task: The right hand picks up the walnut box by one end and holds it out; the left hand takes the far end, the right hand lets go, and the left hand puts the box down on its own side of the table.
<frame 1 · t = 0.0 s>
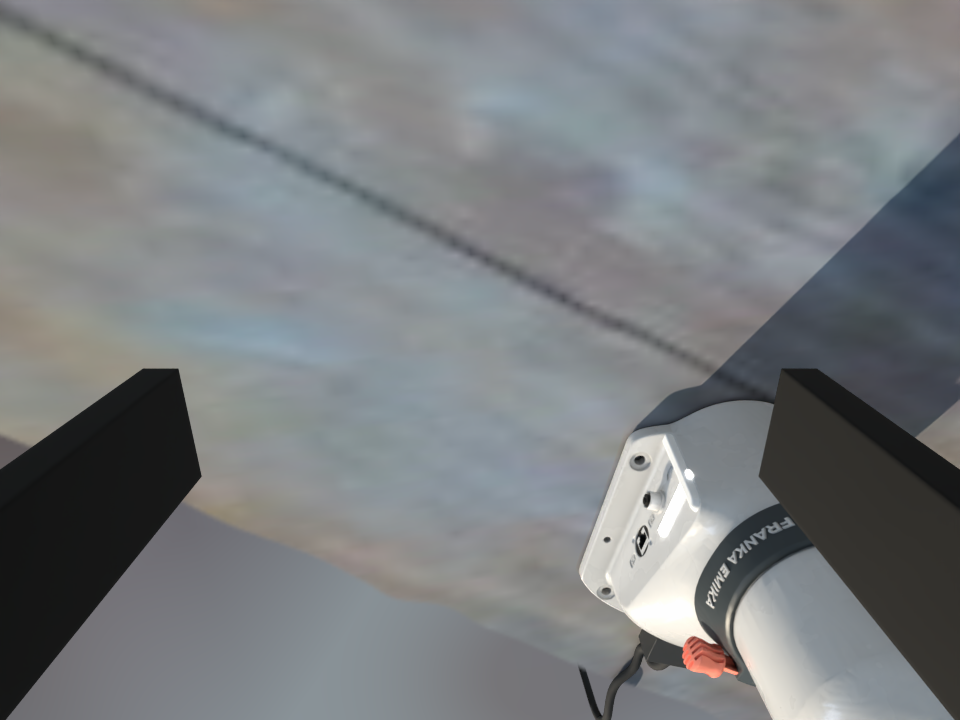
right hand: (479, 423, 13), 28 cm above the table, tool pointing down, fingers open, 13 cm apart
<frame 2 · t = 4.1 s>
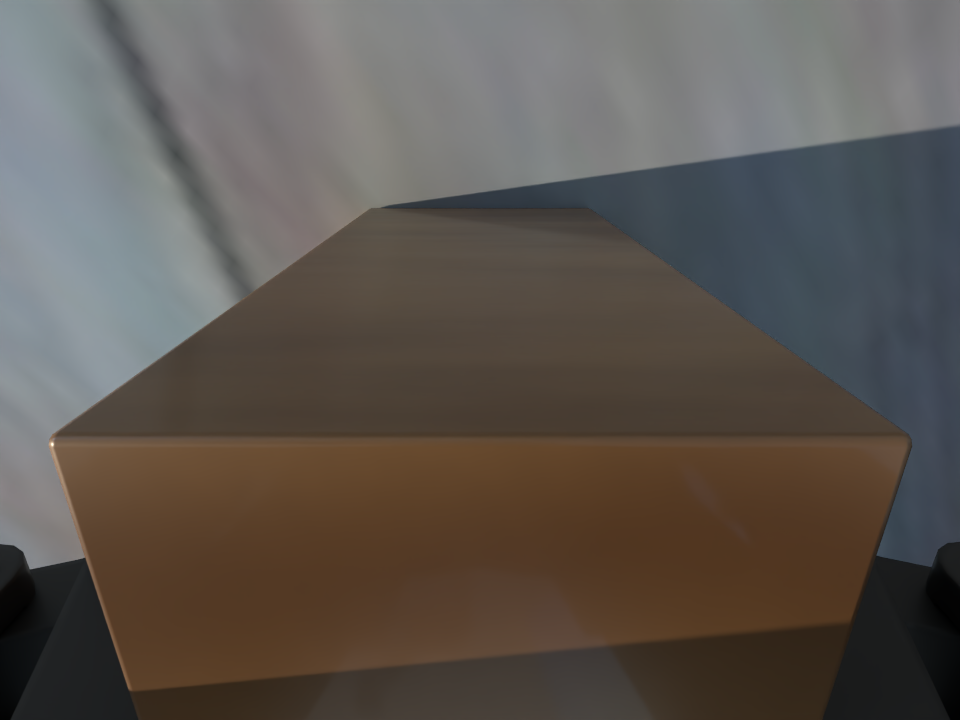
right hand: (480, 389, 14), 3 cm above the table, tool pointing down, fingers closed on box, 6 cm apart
box: (480, 582, 20), on the table, touching right hand
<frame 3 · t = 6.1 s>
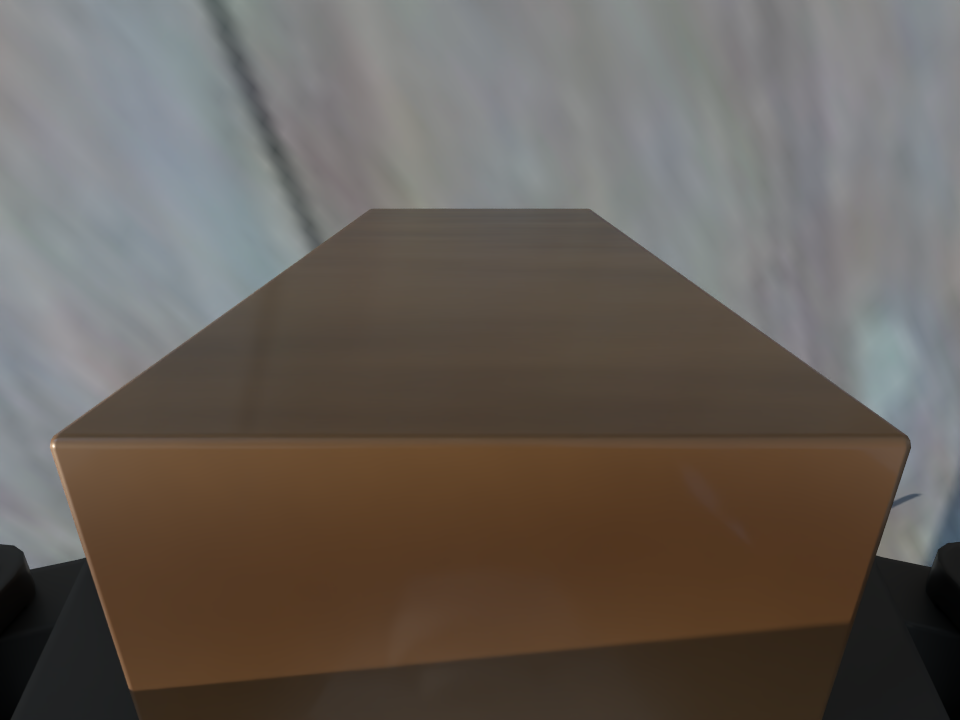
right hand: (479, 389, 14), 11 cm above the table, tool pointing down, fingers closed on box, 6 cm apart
box: (480, 583, 20), point 8 cm above the table, touching right hand
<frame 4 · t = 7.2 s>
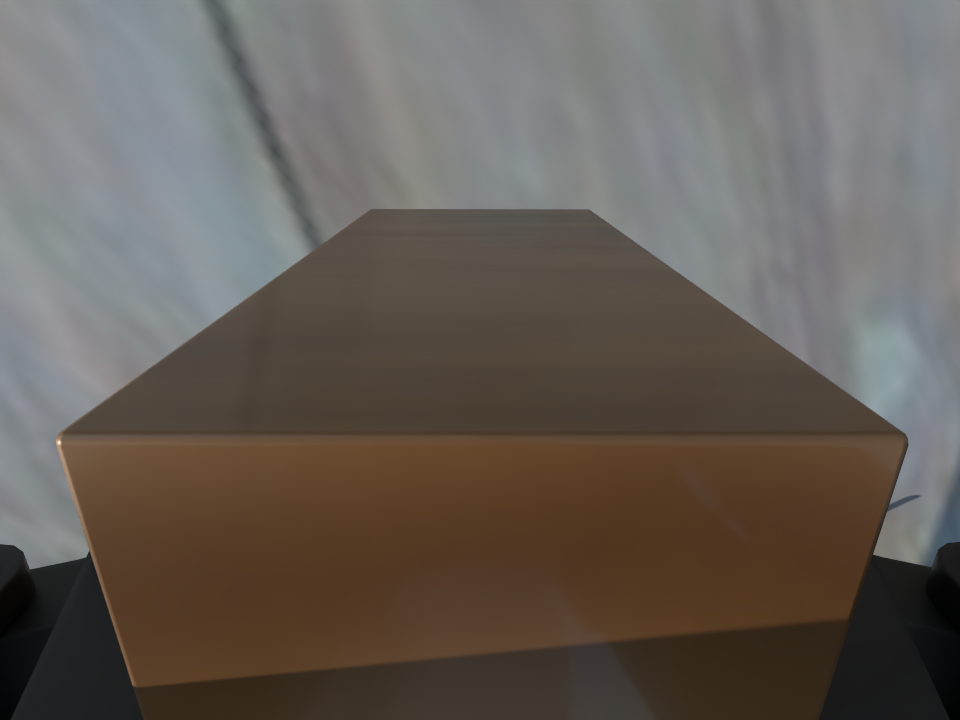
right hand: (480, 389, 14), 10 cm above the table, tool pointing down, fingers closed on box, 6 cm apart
box: (479, 583, 20), point 8 cm above the table, touching right hand, left hand
when the right hand's fingers open (11 cm above the table, at t = 8.3 s): box stays where it is, held by the left hand.
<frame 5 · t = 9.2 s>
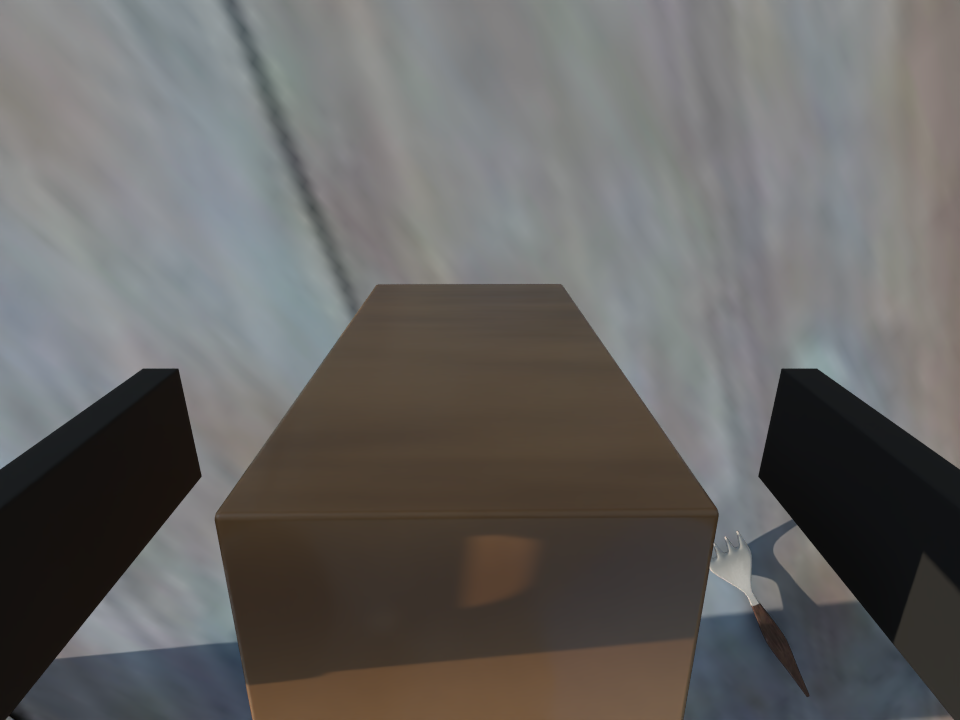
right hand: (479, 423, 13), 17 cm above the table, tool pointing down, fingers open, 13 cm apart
box: (470, 603, 23), point 10 cm above the table, touching left hand
fork: (756, 607, 36), on the table
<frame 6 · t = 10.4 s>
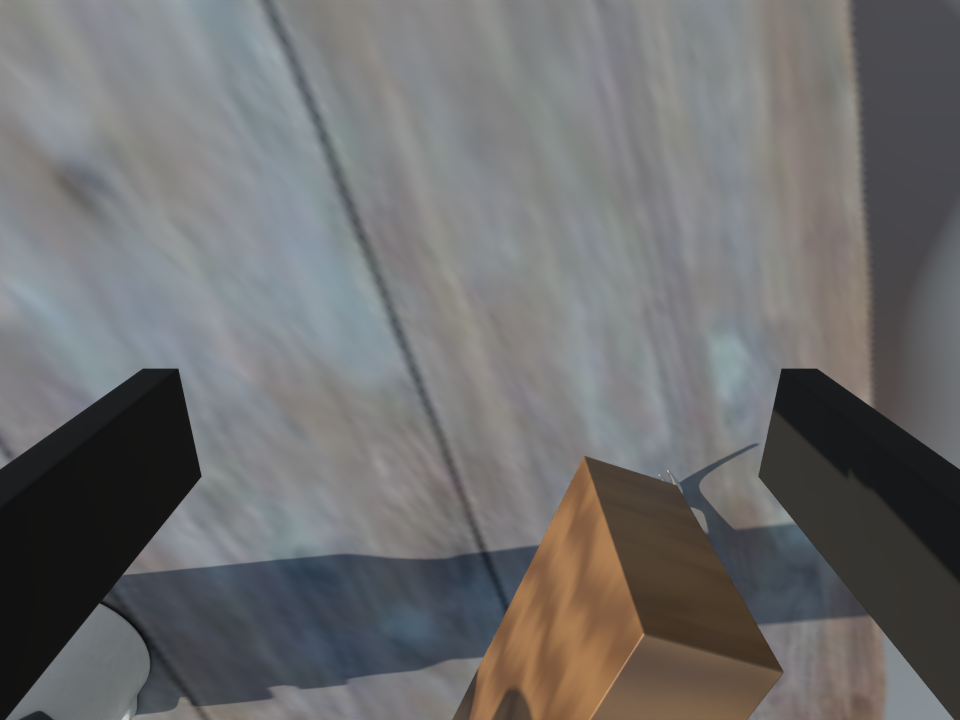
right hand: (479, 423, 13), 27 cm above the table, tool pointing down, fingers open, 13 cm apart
box: (545, 628, 37), point 10 cm above the table, touching left hand
when the left hand's fingers open (8 cm above the table, at t = 13.6 s): box stays where it is, on the table.
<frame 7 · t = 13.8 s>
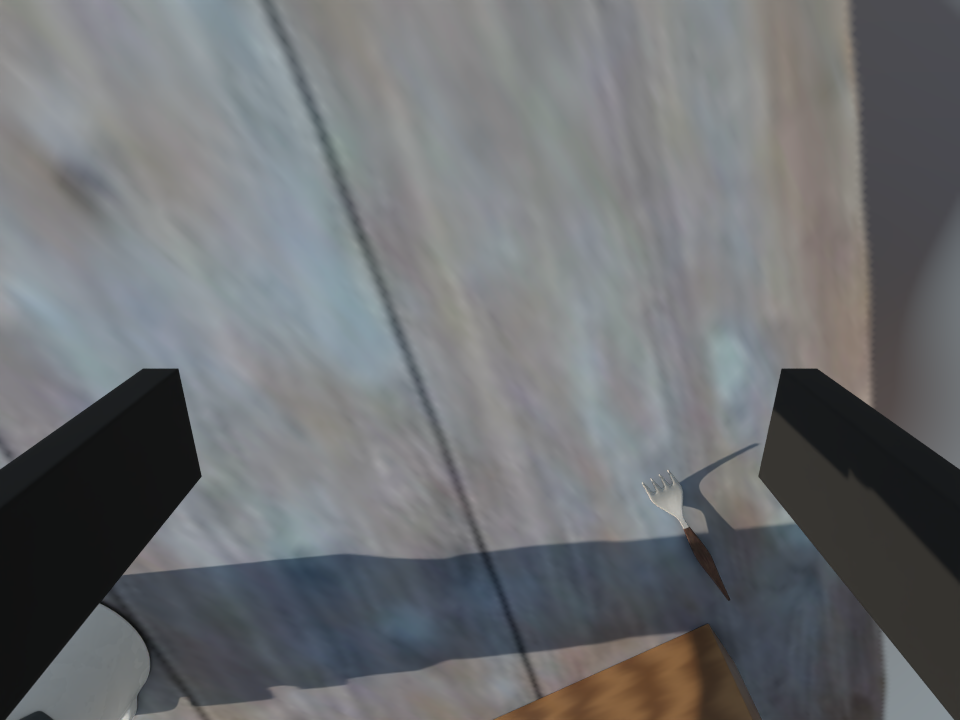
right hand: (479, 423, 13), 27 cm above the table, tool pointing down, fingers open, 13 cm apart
box: (596, 698, 55), on the table
fork: (688, 531, 47), on the table
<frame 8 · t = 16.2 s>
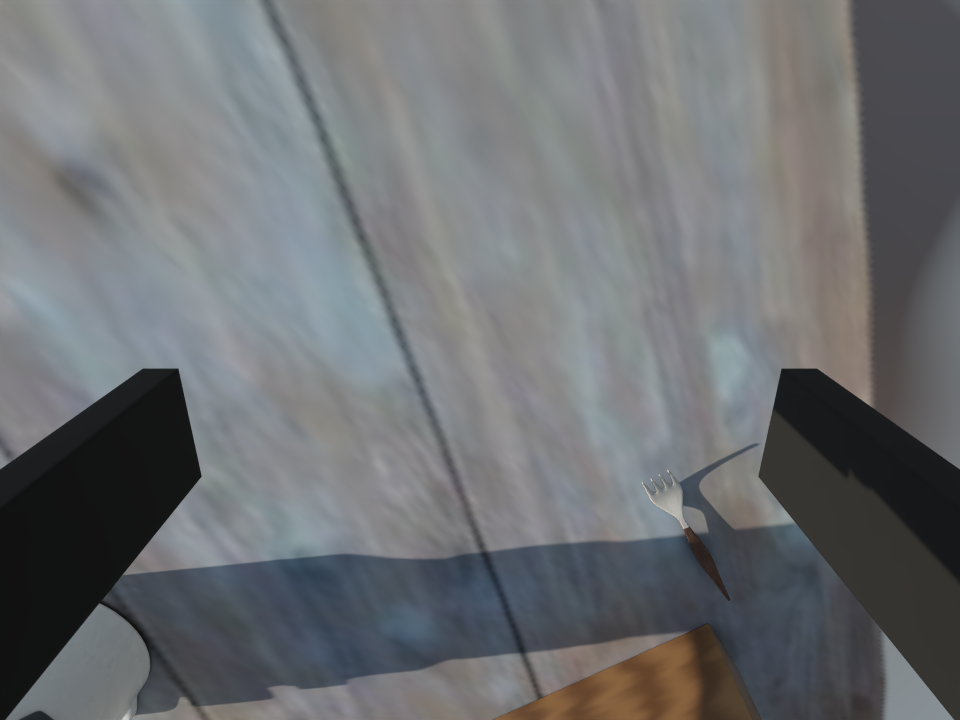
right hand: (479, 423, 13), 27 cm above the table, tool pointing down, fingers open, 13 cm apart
box: (596, 698, 55), on the table
fork: (688, 531, 47), on the table
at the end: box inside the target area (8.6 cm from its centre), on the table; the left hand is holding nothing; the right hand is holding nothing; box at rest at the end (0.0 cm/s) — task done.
